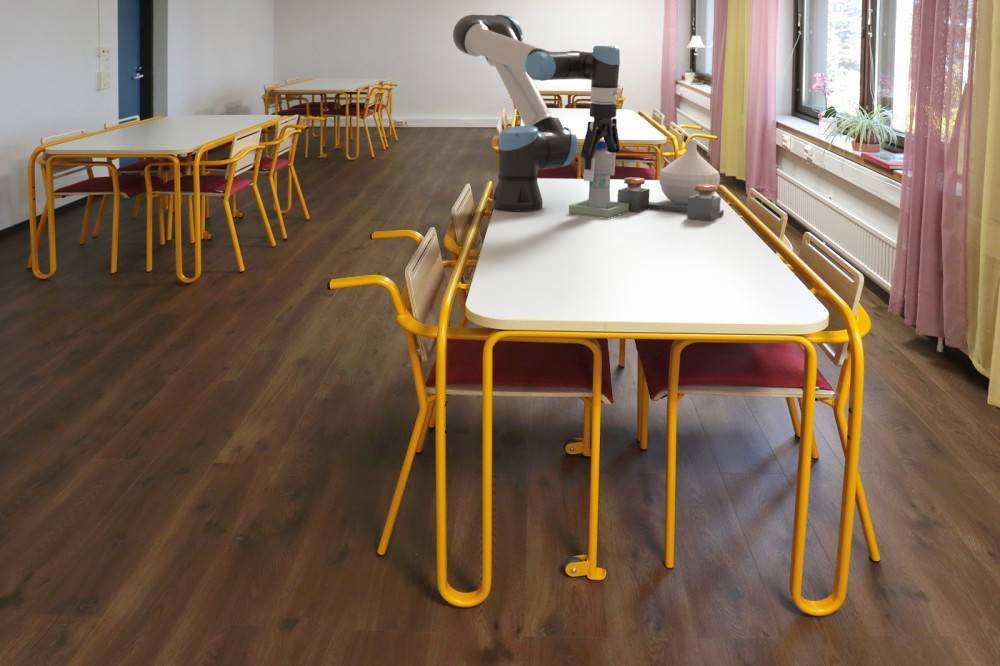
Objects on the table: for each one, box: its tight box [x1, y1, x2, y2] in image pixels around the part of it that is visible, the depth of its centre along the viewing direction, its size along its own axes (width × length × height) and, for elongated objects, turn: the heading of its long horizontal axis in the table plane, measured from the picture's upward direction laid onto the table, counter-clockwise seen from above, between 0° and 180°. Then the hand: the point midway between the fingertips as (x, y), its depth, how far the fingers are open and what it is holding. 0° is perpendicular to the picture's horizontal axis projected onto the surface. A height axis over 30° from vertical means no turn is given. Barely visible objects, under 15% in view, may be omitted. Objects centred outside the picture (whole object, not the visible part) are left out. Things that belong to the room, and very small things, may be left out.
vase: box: [659, 139, 721, 206], centre depth 299 cm, size 18×18×19 cm
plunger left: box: [623, 177, 646, 191], centre depth 288 cm, size 6×6×8 cm
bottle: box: [587, 140, 612, 209], centre depth 281 cm, size 7×7×20 cm
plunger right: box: [695, 184, 717, 199], centre depth 277 cm, size 6×6×8 cm
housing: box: [617, 186, 724, 222], centre depth 285 cm, size 29×10×6 cm, turn 58°
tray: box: [568, 198, 629, 219], centre depth 284 cm, size 13×13×2 cm
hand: (599, 177), depth 281 cm, fingers open, 13 cm apart
